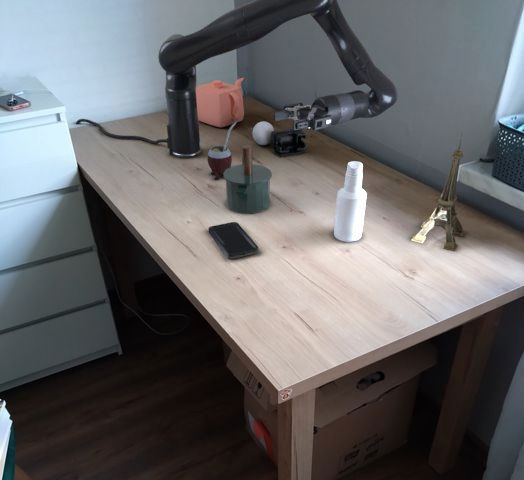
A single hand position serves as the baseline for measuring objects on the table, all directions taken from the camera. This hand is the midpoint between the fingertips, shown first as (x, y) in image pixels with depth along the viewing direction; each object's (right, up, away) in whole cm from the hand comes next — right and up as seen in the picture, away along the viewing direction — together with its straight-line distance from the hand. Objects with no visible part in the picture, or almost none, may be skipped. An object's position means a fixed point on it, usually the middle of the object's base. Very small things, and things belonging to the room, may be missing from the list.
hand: (283, 121), depth 140 cm
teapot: (-19, +26, +61) cm, 69 cm away
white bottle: (+16, -31, -5) cm, 35 cm away
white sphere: (-6, +10, +43) cm, 44 cm away
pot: (-9, -19, +8) cm, 23 cm away
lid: (-9, -13, +3) cm, 16 cm away
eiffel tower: (+38, -31, -6) cm, 49 cm away
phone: (-13, -33, -7) cm, 36 cm away
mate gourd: (-18, -7, +23) cm, 30 cm away
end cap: (+3, +6, +37) cm, 38 cm away
